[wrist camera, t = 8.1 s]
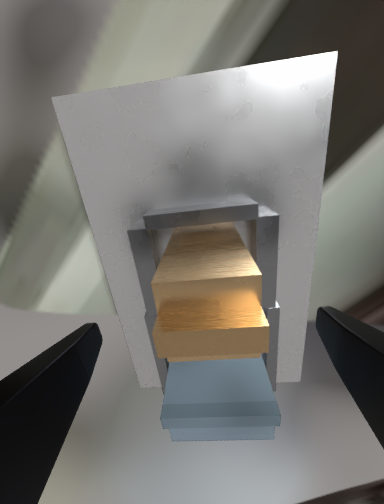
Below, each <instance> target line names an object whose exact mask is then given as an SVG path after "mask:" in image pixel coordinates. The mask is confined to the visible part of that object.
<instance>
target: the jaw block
mask: <svg viewBox="0 0 384 504" xmlns="http://www.w3.org/2000/svg"><path fill="white" fill-rule="evenodd" d="M151 287H152V291H153V296H154V301H155V305H156V310H157V318H156V321H155V325H154V328H153V331H152V336H153V340H154V344H155V348H156V352H157V356H158V358H167V360H168V362H183V361H204V360H224V359H245V358H261V353H269V324H268V321H267V319H266V317H265V314H264V312H263V310H262V307H261V301H262V274H261V272H260V270H259V269H258V267H257V265H256V263H255V262H254V260H253V258H252V256H251V255H250V253H249V251H248V249H247V247H246V246H245V244H244V242H243V240H242V239H241V237H240V235H239V233H238V231H237V230H236V228H231V229H221V230H211V231H201V232H191V233H181V234H172V235H171V238H170V240H169V242H168V245H167V247H166V249H165V252H164V254H163V256H162V259H161V261H160V263H159V266H158V268H157V270H156V273H155V275H154V277H153V279H152V282H151Z"/></svg>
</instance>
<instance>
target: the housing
mask: <svg viewBox="0 0 384 504" xmlns="http://www.w3.org/2000/svg"><path fill="white" fill-rule="evenodd" d="M160 419H161V423H162V426H163V429H169V431H170V434H171V439H172V441H213V440H214V441H215V440H216V441H217V440H268V439H269V440H271V439H274V433H275V426H280V422H281V415H280V411H279V408H278V405H277V402H276V398H275V395H274V392H273V389H272V386H271V383H270V380H269V377H268V374H267V370H266V367H265V364H264V361H263V358H262V355H261V358H245V359H224V360H204V361H183V362H169V368H168V374H167V380H166V387H165V393H164V399H163V406H162V412H161V418H160Z"/></svg>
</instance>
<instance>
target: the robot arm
mask: <svg viewBox="0 0 384 504" xmlns="http://www.w3.org/2000/svg"><path fill="white" fill-rule="evenodd" d="M316 329H317V331H318V333H319V336H320V338H321V340H322V342H323V344H324V346H325V348H326V350H327V352H328V354H329V357H330V359H331V361H332V363H333V365H334V367H335V369H336V370H337V372H338V374H339V375H340V377H341V379H342V381H343V382H344V384H345V386H346V387H347V389H348V391H349V392H350V394H351V395H352V397H353V399H354V401H355V402H356V404H357V406H358V407H359V409H360V411H361V412H362V414H363V415H364V417H365V419H366V421H367V422H368V424H369V426H370V427H371V429H372V431H373V432H374V434H375V436H376V437H377V439H378V440H379V442H380V444H381V445H382V447H383V449H384V332H382V331H380V330H378V329H376V328H374V327H372V326H370V325H368V324H366V323H363V322H361V321H359V320H357V319H355V318H353V317H351V316H349V315H347V314H345V313H343V312H341V311H339V310H337V309H335V308H333V307H330V306H326V307H319V308H318V310H317V317H316ZM101 345H102V335H101V333H100V330H99V327H98V325H97V324H96V323H86V324H84V325H83V326H81V327H80V328H78V329H77V330H75V331H74V332H72V333H71V334H69V335H68V336H66V337H65V338H63V339H62V340H61V341H59V342H57V343H56V344H54V345H53V346H51V347H50V348H48V349H47V350H45V351H44V352H42V353H41V354H40V355H38V356H37V357H35V358H33V359H32V360H30V361H29V362H27V363H26V364H24V365H23V366H21V367H20V368H19V369H17V370H16V371H14V372H13V373H11V374H10V375H8V376H7V377H5V378H4V379H2V380H1V381H0V504H38V502H39V499H40V497H41V494H42V492H43V490H44V488H45V485H46V483H47V481H48V478H49V476H50V474H51V471H52V469H53V467H54V464H55V461H56V459H57V457H58V455H59V452H60V450H61V448H62V445H63V443H64V441H65V438H66V436H67V433H68V431H69V429H70V427H71V424H72V422H73V419H74V417H75V415H76V412H77V410H78V408H79V405H80V403H81V401H82V398H83V396H84V394H85V391H86V389H87V387H88V384H89V382H90V379H91V376H92V373H93V370H94V367H95V363H96V361H97V358H98V355H99V351H100V348H101Z"/></svg>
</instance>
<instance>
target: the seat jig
mask: <svg viewBox="0 0 384 504" xmlns="http://www.w3.org/2000/svg"><path fill="white" fill-rule="evenodd" d="M337 54H338V51H335V52H329V53H323V54H317V55H310V56H304V57H298V58H292V59H286V60H280V61H273V62H267V63H261V64H255V65H249V66H243V67H236V68H230V69H224V70H218V71H212V72H206V73H199V74H193V75H187V76H181V77H175V78H169V79H163V80H156V81H150V82H144V83H138V84H132V85H126V86H119V87H113V88H107V89H101V90H95V91H89V92H82V93H76V94H70V95H64V96H58V97H52V102H53V105H54V108H55V111H56V114H57V118H58V121H59V124H60V128H61V131H62V134H63V137H64V141H65V144H66V147H67V150H68V154H69V157H70V160H71V163H72V167H73V170H74V173H75V176H76V180H77V183H78V186H79V190H80V193H81V196H82V199H83V203H84V206H85V209H86V212H87V216H88V219H89V222H90V225H91V229H92V232H93V235H94V238H95V242H96V245H97V248H98V251H99V255H100V258H101V261H102V264H103V268H104V271H105V274H106V277H107V281H108V284H109V287H110V290H111V294H112V297H113V300H114V303H115V307H116V310H117V313H118V316H119V320H120V323H121V326H122V329H123V333H124V336H125V339H126V342H127V345H128V349H129V352H130V355H131V359H132V362H133V365H134V368H135V372H136V375H137V378H138V381H139V385H140V388H154V387H162V390H163V394H164V393H165V387H166V380H167V374H168V368H169V362H168V360H167V358H158V356H157V352H156V348H155V344H154V340H153V336H152V331H153V328H154V325H155V321H156V318H157V310H156V305H155V301H154V296H153V291H152V287H151V282H152V279H153V277H154V275H155V273H156V270H157V268H158V266H159V263H160V261H161V259H162V256H163V254H164V252H165V249H166V247H167V245H168V242H169V240H170V238H171V235H172V234H181V233H191V232H201V231H211V230H221V229H231V228H236V230H237V231H238V233H239V235H240V237H241V239H242V240H243V242H244V244H245V246H246V247H247V249H248V251H249V253H250V255H251V256H252V258H253V260H254V262H255V263H256V265H257V267H258V269H259V270H260V272H261V274H262V301H261V307H262V310H263V312H264V314H265V317H266V319H267V321H268V324H269V353H261V355H262V358H263V361H264V364H265V367H266V370H267V374H268V377H269V380H270V383H271V386H272V389H273V391H276V383H279V382H300V379H301V370H302V362H303V353H304V343H305V335H306V326H307V318H308V309H309V300H310V292H311V283H312V274H313V265H314V256H315V248H316V239H317V230H318V221H319V212H320V204H321V195H322V186H323V177H324V168H325V160H326V151H327V142H328V133H329V124H330V116H331V107H332V98H333V89H334V80H335V72H336V63H337Z"/></svg>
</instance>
